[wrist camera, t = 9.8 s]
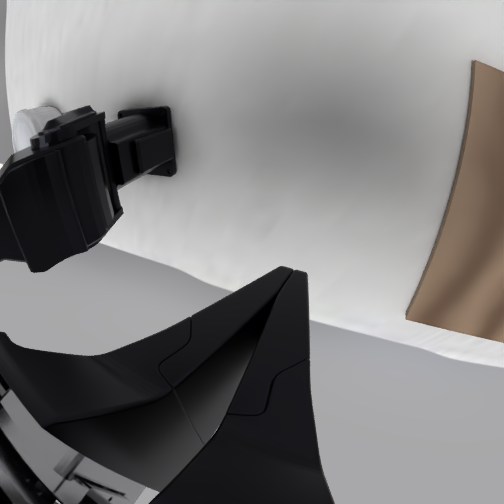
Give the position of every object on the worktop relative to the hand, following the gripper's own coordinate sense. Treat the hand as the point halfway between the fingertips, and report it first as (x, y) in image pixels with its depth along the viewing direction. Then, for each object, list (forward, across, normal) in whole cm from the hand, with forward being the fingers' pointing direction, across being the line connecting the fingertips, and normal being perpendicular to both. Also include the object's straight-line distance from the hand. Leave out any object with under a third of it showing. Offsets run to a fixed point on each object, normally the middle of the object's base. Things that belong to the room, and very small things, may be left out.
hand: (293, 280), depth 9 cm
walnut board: (+13, -18, +2) cm, 22 cm away
